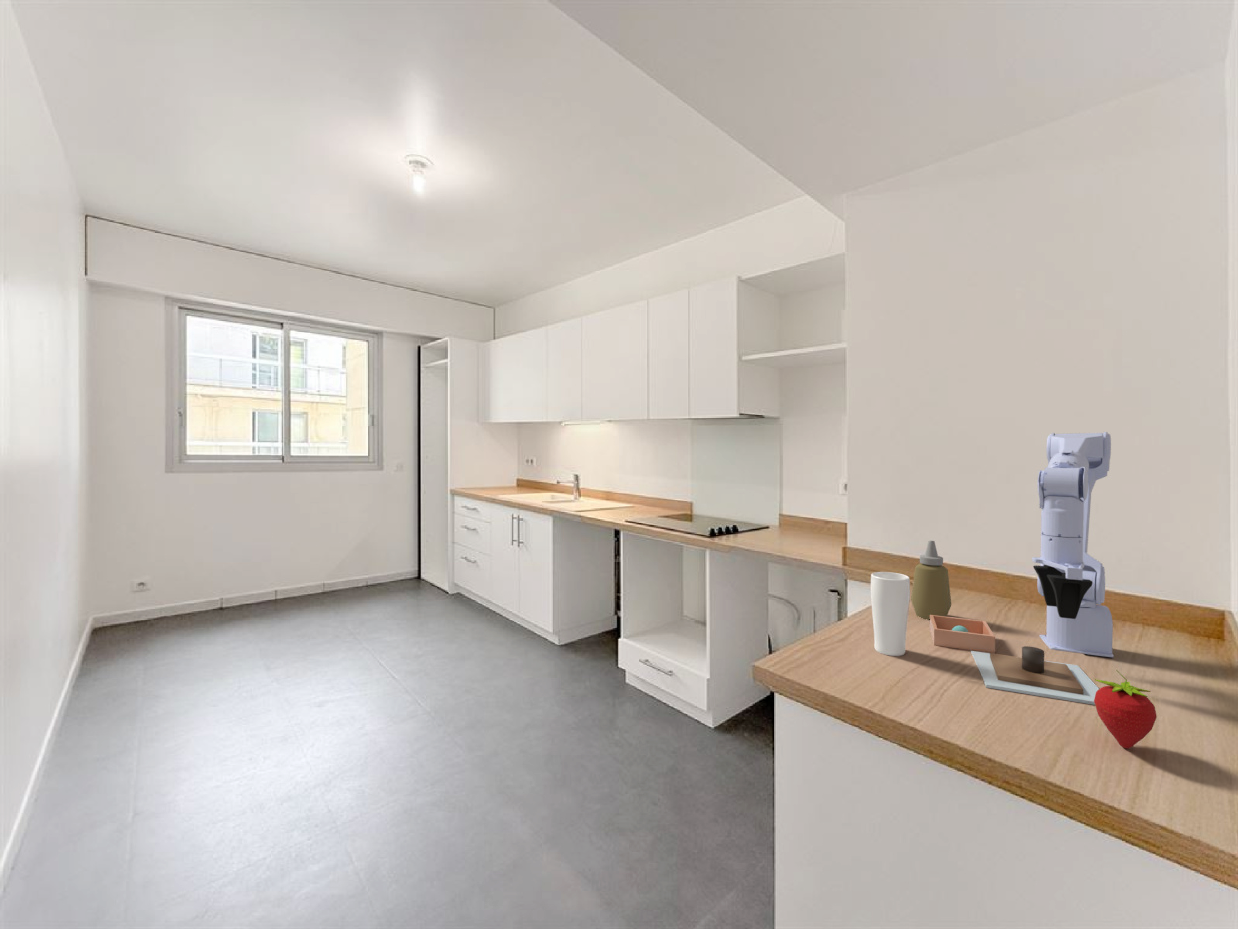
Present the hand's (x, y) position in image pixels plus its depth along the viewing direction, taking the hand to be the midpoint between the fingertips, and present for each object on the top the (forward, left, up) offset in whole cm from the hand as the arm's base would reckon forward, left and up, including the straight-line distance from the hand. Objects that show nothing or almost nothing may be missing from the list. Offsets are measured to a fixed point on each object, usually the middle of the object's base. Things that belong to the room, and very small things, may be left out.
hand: (1060, 611), depth 93 cm
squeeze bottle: (+18, -23, -11) cm, 31 cm away
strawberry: (0, +27, -11) cm, 29 cm away
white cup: (+27, +4, -11) cm, 29 cm away
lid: (+5, +6, -10) cm, 13 cm away
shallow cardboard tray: (+14, -8, -10) cm, 19 cm away
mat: (+5, +6, -10) cm, 13 cm away
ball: (+14, -8, -10) cm, 19 cm away
